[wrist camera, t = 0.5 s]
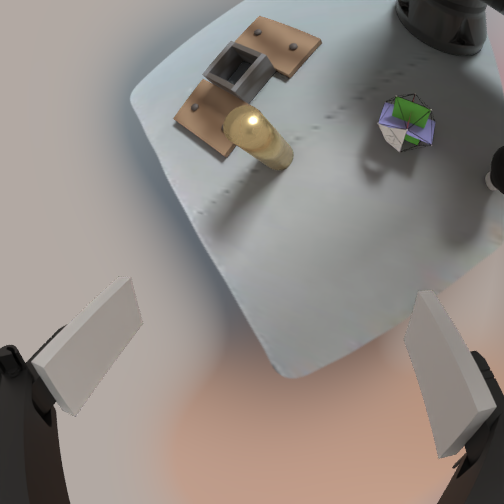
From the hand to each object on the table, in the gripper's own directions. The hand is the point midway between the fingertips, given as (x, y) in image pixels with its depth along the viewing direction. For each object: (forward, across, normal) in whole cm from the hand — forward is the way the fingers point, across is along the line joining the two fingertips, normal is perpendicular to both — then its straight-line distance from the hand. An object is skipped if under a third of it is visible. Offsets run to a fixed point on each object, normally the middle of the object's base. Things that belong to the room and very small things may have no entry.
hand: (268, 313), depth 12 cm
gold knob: (+28, -2, +4) cm, 28 cm away
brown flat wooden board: (+33, -7, +16) cm, 38 cm away
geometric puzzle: (+26, +15, +9) cm, 31 cm away
